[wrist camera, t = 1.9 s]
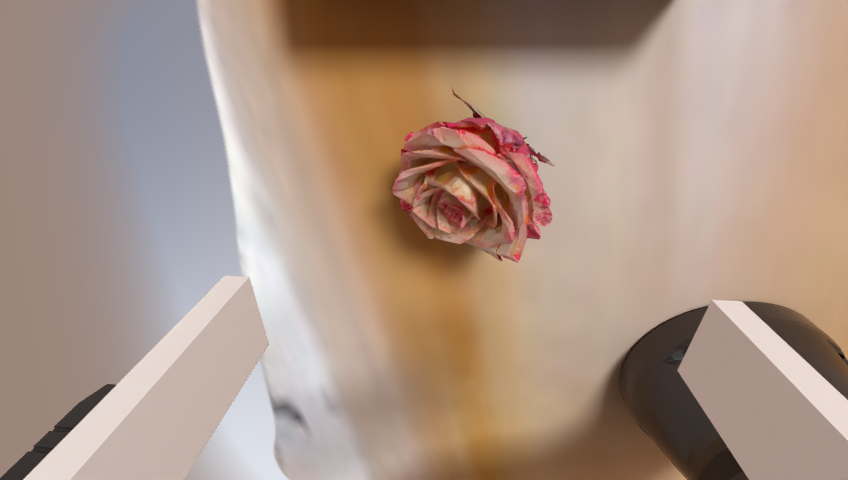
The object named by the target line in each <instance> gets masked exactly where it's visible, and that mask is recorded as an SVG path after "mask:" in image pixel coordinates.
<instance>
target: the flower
mask: <svg viewBox="0 0 848 480" xmlns="http://www.w3.org/2000/svg"><path fill="white" fill-rule="evenodd" d="M451 88H452V87H451ZM452 91H453V89H452ZM453 95H454V96H456V97H457V98H459V99H461V98H460V97H459V96H457V95H456V94H455V93H454V91H453ZM461 100H462V101H463V102H464V103H465V104H466V105H467V106H468V107H469V108H470V109H471V110H472V111H473V117H474V118H473V117H471V118H466V119H464V120H462V121H459V122H457V123H449V122H443V123H441V122H436V123H434V124H431V125H429V126H427V127H425V128H424V129H422V130H420V131H419V132H417V133H416V134H415V133H414V132H411V133H409V134H407V135H406V136H405V147H404V149H401V165H402V169H401V170H400V172H399V176H398V177H397V179H396V180H395V182H394V185H393V187H392V188H391V189H392V192H393V194H394V195H395V196H397V197H399V198H400V206H401V207H402V209H403V210H404V211H409V212H408V214H409V215H410V217H411V218H412V219H413V221H414V222H416V223H417V225H418V226H419V227H420V228H421V230H422V231H423V232H424V233H425V234H426V236H427V237H428V238H430V239H433V238H434V237H435V238H436V239H439V240H441V241H447V242H453V243H457V244H461V243H463V242H464V243H467V244H469V245H472V246H474V247H477V248H479V249H481V250H484V251H485V252H487V253H489V254H491V255H492V256H494V257H495V258H497V259H498V260H500V261H502V259H501V257H500V255H501V256H503V257H504V258H508V259H511V260H513V261H515V262H519V260H520V257H521V254H522V251H523V248H524V245H525V242H526V239H527V238H532V239H540V230H539V228H538V226H537V225H536V224H535V223H537V224H540V225H542V226H546V225H548V224H550V223H551V220H552V214H551V211H550V209H543V208H549V206H550V199H549V197H548V196H547V194H546V193H545V191H544V190H543V184H542V182H541V180H540V178H539V176H538V174H537V170H538V165H537V161H536V160H535V159H533V158H532V157H531V155H532V156H533V155H534V156H536V157H537V158H538V159H539V161H541V162H544V163H546V162H547V163H548V164H550V165H552V166H555V165H554V164H552V163H551V162H550V161H549V160H548V159H547V158H545V157H544V156H542V155H540V153H538V154H536V152H535V151H534V149H533V148H532V147H530V146H529V144H527V143H525V141H524V139H525V138H527V137H525V138H523V137H522V136H521V135H520V134H519V133H518V132H517V131H515V130H512V129H509V128H506V127H504V126H501V125H499V124H497V123H496V122H495V121H494V120H492V119H489V118H486V117H485V116H484V115H483V114H482V113H481V112H479V111H478V110H477V109H476V108H475V107H473V106H472V105H470V104H469V103H467V102H466V101H464V100H463V99H461ZM532 161H534V162H536V163H533V162H532ZM548 161H549V162H548ZM542 193H543V194H542ZM547 217H548V218H547ZM497 249H498V253H499V255H498V254H497Z"/></svg>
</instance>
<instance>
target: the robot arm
mask: <svg viewBox="0 0 848 480" xmlns="http://www.w3.org/2000/svg"><path fill="white" fill-rule="evenodd" d="M268 345H269V344H268V340H267V337H266V333H265V330H264V326H263V323H262V320H261V316H260V313H259V309H258V306H257V302H256V299H255V295H254V292H253V289H252V285H251V282H250V278H249V277H240V276H224V277H223V278H222V279H221V280H220V281H219V282H218V283H217V284H216V285H215V286H214V287H213V288H212V289H211V290H210V292H208V293H207V294H206V295H205V296H204V297H203V298H202V299H201V300H200V301H199V303H197V304H196V305H195V306H194V307H193V308H192V309H191V310H190V311H189V312H188V314H187V315H186V316H184V317H183V319H182V320H181V321H180V322H179V323H178V324H177V325H176V326H175V327H174V328H173V329H172V330H171V331H170V332H169V333H168V334H167V335H166V336H165V337H164V338H163V339H162V340H161V341H160V342H159V343H158V344H157V345H156V346H155V347H154V348H153V349H152V350H151V351H150V352H149V353H148V354H147V355H146V356H145V357H144V358H143V359H142V360H141V361H140V362H139V363H138V364H137V365H136V366H135V367H134V368H133V369H132V370H131V371H130V372H129V373H128V374H127V375H126V376H125V377H124V378H123V379H122V380H121V381H120V382H119V383H118V384H117V385H112V384H107V385H105V386H104V387H102V388H101V389H100V390H98V391H97V392H95V393H93V394H92V395H90V396H89V397H87V398H86V399H84V400H83V401H81V402H80V403H78V404H77V405H76V406H75V407H74V408H73V409H72V410H71V411H70V412H69V413H68V414H67V415H66V416H65V417H64V418H63V419H62V420H61V421H59V422H58V423H57V425H55V426H54V427H55V428H54V430H53V431H49V432H48V433H47V434H46V435H45V436H44V437H43V438H42V439H41V440H40V441H39V442H38V443H36V445H34V449H33V450H32V451H31V452H27V453H26V454H25V455H24V456H23V457H22V458H21V459H20V460H19V461H18V462H17V463H16V464H15V465H14V466H12V467H11V468H10V469H9V470H8V471H7V472H6V473H5V474H4V475H3V476H2V477H1V478H0V480H184V479H185V478H186V476H187V474H188V473H189V471H190V470H191V468H192V466H193V465H194V463H195V462H196V460H197V458H198V457H199V455H200V454H201V452H202V450H203V448H204V447H205V446H206V444H207V442H208V441H209V439H210V437H211V436H212V434H213V433H214V431H215V430H216V428H217V426H218V425H219V423H220V421H221V420H222V418H223V417H224V415H225V413H226V412H227V410H228V409H229V407H230V405H231V404H232V402H233V401H234V399H235V397H236V396H237V394H238V393H239V391H240V389H241V388H242V386H243V385H244V383H245V381H246V380H247V378H248V377H249V375H250V373H251V372H252V370H253V369H254V367H255V365H256V364H257V362H258V361H259V359H260V357H261V356H262V354H263V353H264V351H265V349H266V348H267V346H268ZM620 389H621V392H622V395H623V397H624V400H625V402H626V404H627V406H628V408H629V410H630V413H631V415H632V417H633V418H634V420H635V421H636V423H637V424H638V426H639V427H640V428H641V429H642V430H643V431H644V432H645V433H646V434H647V435H648V436H649V437H651V439H652V440H653V441H654V442H655V443H656V445H657V446H658V447H659V448H660V449H661V451H662V452H663V453H664V454H665V455H666V456H667V458H668V459H669V460H670V461H671V462H672V463H673V464H674V466H675V467H676V468H677V469H678V470H679V471H680V472H681V473H682V474H683V476H684V477H685V478H686V479H687V480H848V360H847V359H846V357H845V355H844V353H843V351H842V350H841V348H840V347H839V346H838V345H837V344H836V343H835V342H834V340H833V339H831V338H830V337H829V336H828V335H827V334H826V333H824V332H823V331H822V330H821V329H819V328H818V327H817V326H816V325H814V324H813V323H812V322H811V321H809V320H808V319H807V318H805V317H804V316H803V315H801V314H799V313H798V312H795V311H793V310H791V309H788V308H786V307H782V306H779V305H775V304H769V303H762V302H742V301H726V300H711V302H710V304H709V306H708V307H704V308H700V309H697V310H694V311H691V312H688V313H685V314H683V315H680V316H678V317H676V318H674V319H672V320H670V321H668V322H666V323H664V324H663V325H661V326H659V327H658V328H656V329H655V330H653V331H652V332H651V333H649V334H648V335H647V336H645V337H644V338H643V339H642V340H641V341H640V342H639V343H638V344H637V345H636V346H635V347H634V348H633V350H632V351H631V352H630V354H629V355H628V357H627V358H626V360H625V362H624V364H623V367H622V370H621V374H620Z"/></svg>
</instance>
